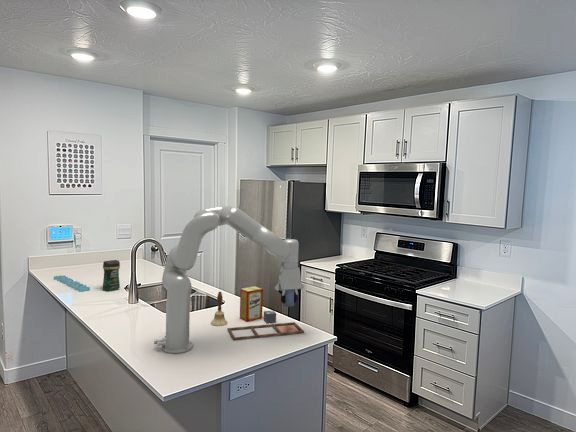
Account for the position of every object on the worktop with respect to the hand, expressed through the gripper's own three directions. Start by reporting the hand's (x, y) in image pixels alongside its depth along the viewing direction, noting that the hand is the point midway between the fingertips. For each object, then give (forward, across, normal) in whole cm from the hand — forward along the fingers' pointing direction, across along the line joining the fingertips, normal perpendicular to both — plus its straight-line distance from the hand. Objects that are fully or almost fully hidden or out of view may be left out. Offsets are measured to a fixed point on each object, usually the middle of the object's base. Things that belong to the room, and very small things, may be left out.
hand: (288, 302), depth 193 cm
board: (+13, -11, 0) cm, 17 cm away
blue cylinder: (+1, 0, 0) cm, 1 cm away
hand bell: (+14, -30, +17) cm, 37 cm away
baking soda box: (+14, -13, +20) cm, 28 cm away
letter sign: (+14, -109, +112) cm, 158 cm away
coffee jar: (+13, -84, +94) cm, 127 cm away
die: (+14, -5, +13) cm, 20 cm away
